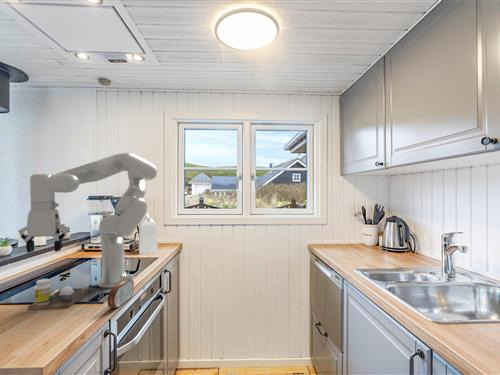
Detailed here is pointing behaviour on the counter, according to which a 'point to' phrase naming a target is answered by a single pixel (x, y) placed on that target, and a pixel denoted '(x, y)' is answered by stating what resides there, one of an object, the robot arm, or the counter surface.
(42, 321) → the counter surface
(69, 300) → the game board
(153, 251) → the milk
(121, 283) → the tin
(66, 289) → the dome
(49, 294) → the supplement bottle
